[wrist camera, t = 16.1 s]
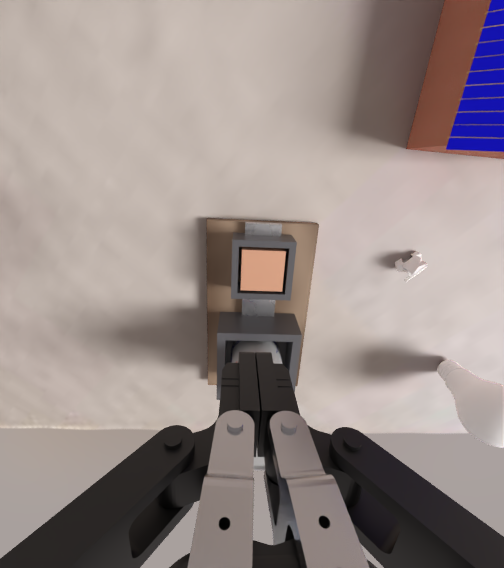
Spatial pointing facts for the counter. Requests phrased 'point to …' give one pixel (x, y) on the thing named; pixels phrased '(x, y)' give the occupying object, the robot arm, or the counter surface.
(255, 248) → the tab
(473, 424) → the lightbulb
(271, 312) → the din rail
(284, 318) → the pair of grey holders
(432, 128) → the house
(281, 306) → the mounting board
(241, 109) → the counter surface
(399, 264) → the adhesive hook
